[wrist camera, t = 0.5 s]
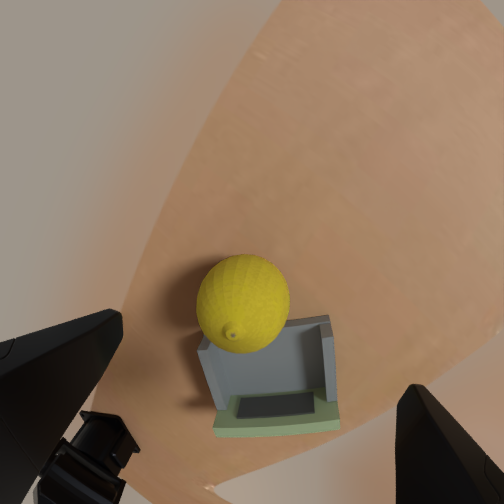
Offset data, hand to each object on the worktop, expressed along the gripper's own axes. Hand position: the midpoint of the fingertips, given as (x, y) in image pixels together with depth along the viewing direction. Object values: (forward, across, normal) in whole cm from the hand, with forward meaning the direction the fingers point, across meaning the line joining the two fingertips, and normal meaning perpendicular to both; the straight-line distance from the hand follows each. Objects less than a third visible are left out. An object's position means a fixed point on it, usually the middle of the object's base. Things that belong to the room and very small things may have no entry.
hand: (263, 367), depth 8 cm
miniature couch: (+13, -1, +11) cm, 17 cm away
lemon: (+14, +2, +4) cm, 14 cm away
